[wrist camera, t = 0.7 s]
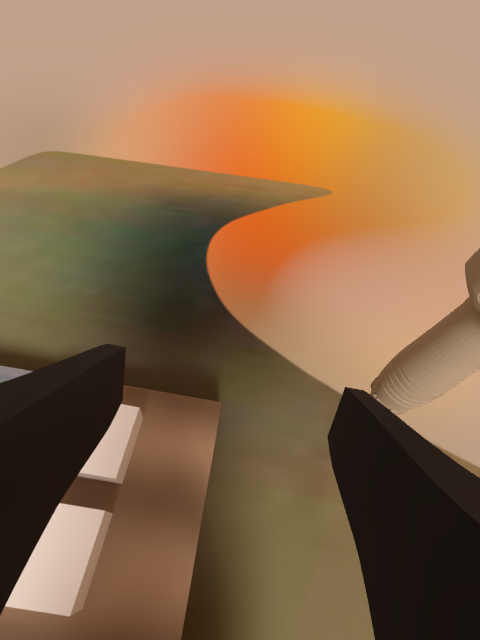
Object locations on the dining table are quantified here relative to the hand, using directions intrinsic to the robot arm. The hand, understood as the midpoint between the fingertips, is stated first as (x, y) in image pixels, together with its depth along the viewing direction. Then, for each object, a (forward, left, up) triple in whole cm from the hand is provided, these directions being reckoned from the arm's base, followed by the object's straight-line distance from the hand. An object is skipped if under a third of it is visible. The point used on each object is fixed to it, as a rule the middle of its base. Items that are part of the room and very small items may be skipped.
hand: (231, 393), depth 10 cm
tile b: (0, +7, -12) cm, 14 cm away
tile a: (-5, +7, -12) cm, 15 cm away
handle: (+8, -14, -15) cm, 22 cm away
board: (-3, +7, -15) cm, 16 cm away
